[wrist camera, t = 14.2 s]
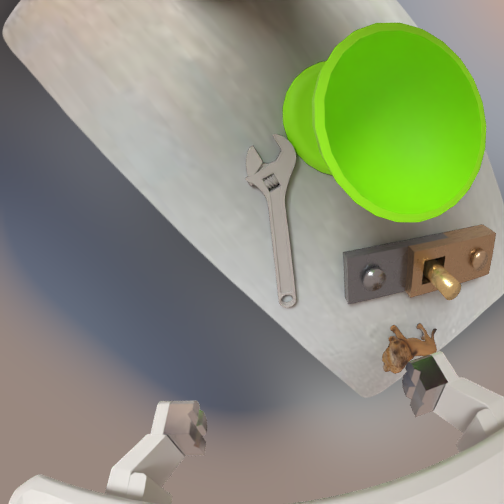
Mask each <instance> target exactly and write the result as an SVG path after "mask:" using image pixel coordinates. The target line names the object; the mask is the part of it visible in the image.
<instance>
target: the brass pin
mask: <svg viewBox="0 0 504 504" xmlns="http://www.w3.org/2000/svg"><path fill="white" fill-rule="evenodd" d="M423 274H424V275H425V276H426V277H427V278H428V279H429V280H430V282H431V283H432V284H433V285H434V286H435V287H436V288H437V289H438V290H439V291H440V293H441V294H442V295H443V296H444V297H445V298H446V299H447V300H452V299H454V298H455V297H456V296H457V295H458V294H459V292H460V290H461V284H460V283H459V282H458V281H457V280H456V279H455V278H454V277H453V276H452V275H451V274H450V273H449V272H448V271H447V270H446V269H445V268H444V267H443V266H442V265H441V264H439V263H438V262H437V261H436V260H435V259H431V260H427V261H424V268H423Z"/></svg>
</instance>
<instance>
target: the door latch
mask: <svg viewBox="0 0 504 504" xmlns="http://www.w3.org/2000/svg"><path fill="white" fill-rule="evenodd" d="M495 236H496V233H495V232H493V231H492V230H490V229H489V228H487V227H486V226H484V225H478V226H473V227H468V228H463V229H459V230H454V231H449V232H444V233H439V234H434V235H429V236H424V237H419V238H415V239H410V240H404V241H399V242H394V243H389V244H384V245H379V246H374V247H369V248H364V249H358V250H353V251H348V252H343V258H344V282H345V298H346V300H347V302H348V304H351V303H356V302H361V301H365V300H369V299H374V298H378V297H382V296H386V295H390V294H395V293H399V292H403V291H406V293H407V294H408V295H409V297H410V298H411V297H414V296H418V295H422V294H425V293H429V292H432V291H436V290H438V289H437V288H436V287H435V286H434V285H433V284H432V283H431V282H430V280H429V279H428V278H427V277H426V276H425V275H424V274H423V268H424V261H427V260H431V259H435V260H436V261H437V262H438V263H439V264H441V265H442V266H443V267H444V268H445V269H446V270H447V271H448V272H449V273H450V274H451V275H452V276H453V277H454V278H455V279H456V280H457V281H458V282H459V283H462V282H466V281H469V280H472V279H475V278H478V277H481V276H484V275H487V274H489V270H490V265H491V260H492V254H493V248H494V242H495Z"/></svg>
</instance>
